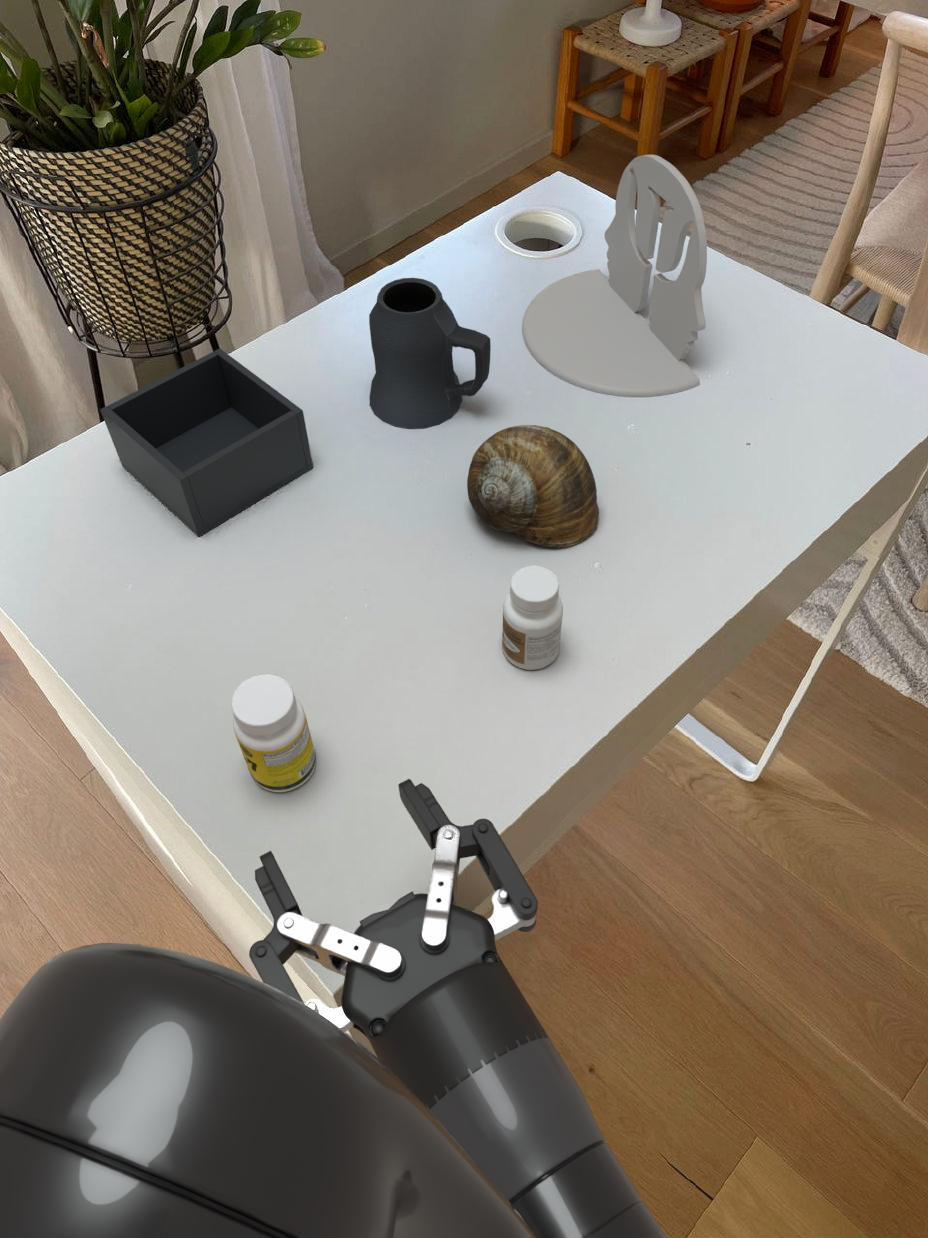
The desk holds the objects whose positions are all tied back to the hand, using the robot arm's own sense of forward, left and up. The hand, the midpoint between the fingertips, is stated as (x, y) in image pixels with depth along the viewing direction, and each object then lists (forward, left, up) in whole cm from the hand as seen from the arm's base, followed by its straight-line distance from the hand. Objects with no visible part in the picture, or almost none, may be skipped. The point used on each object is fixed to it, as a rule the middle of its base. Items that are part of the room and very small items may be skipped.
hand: (337, 822), depth 54 cm
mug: (+28, +41, -10) cm, 51 cm away
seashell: (+28, +23, -10) cm, 38 cm away
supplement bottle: (0, +11, -10) cm, 15 cm away
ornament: (+47, +41, -10) cm, 63 cm away
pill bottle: (+20, +11, -10) cm, 25 cm away
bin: (+7, +43, -10) cm, 44 cm away
